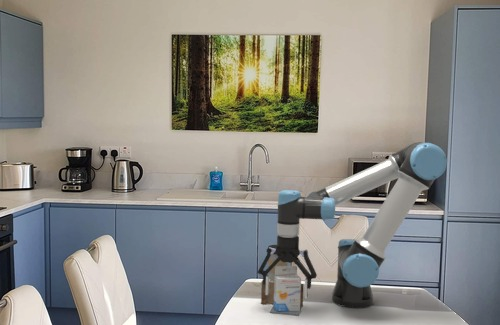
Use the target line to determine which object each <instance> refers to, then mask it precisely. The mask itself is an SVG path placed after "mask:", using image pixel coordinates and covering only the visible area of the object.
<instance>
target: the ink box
mask: <svg viewBox="0 0 500 325" xmlns="http://www.w3.org/2000/svg"><path fill="white" fill-rule="evenodd" d="M285 268H287V270H286V271H282V269H285ZM301 284H302V278H301V276H300V275H299V274H298V266H297V265H287V266H276V267H275V275H274V304H272V307H274V308H275V310H276V311H277V312H279V311H300V296H301Z"/></svg>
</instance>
